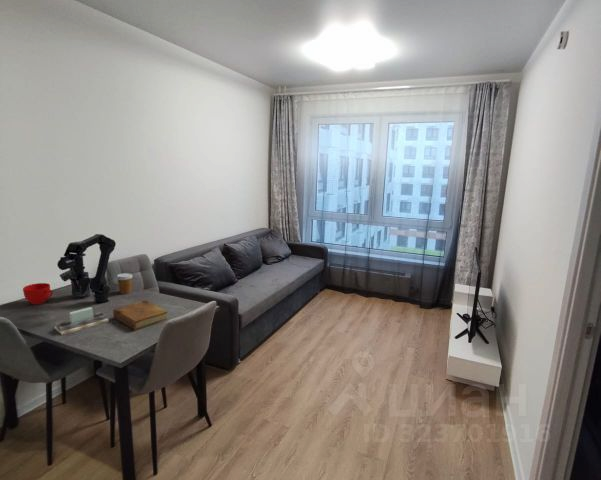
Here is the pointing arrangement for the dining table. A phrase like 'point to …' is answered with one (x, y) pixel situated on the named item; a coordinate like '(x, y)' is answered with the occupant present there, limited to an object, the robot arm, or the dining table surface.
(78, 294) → the storage jar
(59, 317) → the dining table surface
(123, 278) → the disposable coffee cup
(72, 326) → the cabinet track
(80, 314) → the pale green rectangular box
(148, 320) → the diary
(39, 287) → the ceramic cup
